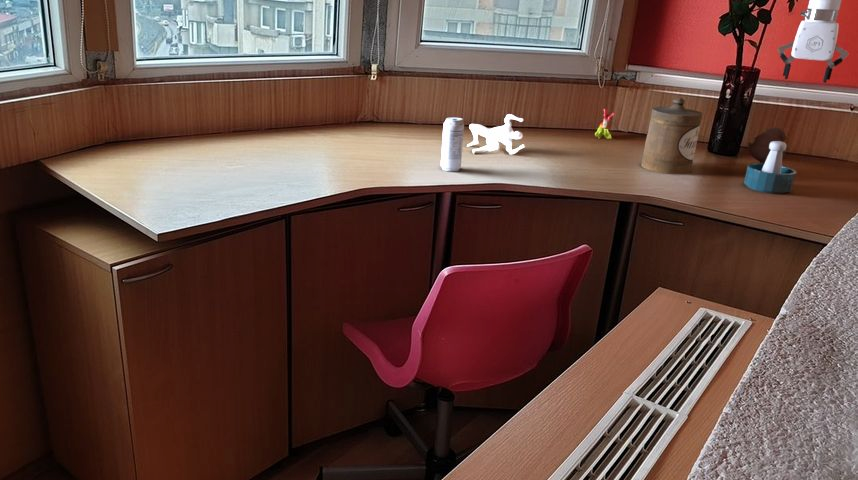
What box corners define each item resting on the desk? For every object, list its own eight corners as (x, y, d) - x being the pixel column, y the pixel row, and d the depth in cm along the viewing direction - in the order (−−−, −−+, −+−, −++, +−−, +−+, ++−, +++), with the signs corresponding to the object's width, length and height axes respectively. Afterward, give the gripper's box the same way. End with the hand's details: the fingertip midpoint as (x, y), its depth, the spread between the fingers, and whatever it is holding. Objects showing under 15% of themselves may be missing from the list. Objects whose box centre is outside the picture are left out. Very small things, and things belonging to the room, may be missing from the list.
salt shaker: (774, 190, 204) (785, 145, 199) (753, 185, 208) (764, 141, 203) (782, 186, 208) (793, 142, 203) (761, 182, 212) (772, 138, 207)
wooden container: (689, 177, 217) (704, 104, 208) (638, 170, 222) (651, 98, 214) (692, 167, 229) (706, 97, 221) (644, 160, 235) (656, 92, 227)
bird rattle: (591, 141, 269) (595, 136, 260) (595, 112, 270) (598, 106, 261) (609, 143, 268) (612, 137, 259) (612, 113, 269) (616, 107, 260)
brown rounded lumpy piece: (752, 169, 230) (763, 122, 225) (787, 177, 222) (799, 129, 216) (734, 173, 224) (745, 125, 219) (769, 181, 216) (782, 132, 210)
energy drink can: (454, 166, 217) (458, 116, 212) (464, 171, 212) (468, 120, 207) (436, 167, 215) (440, 117, 209) (446, 172, 210) (449, 121, 204)
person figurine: (467, 119, 230) (523, 112, 229) (463, 121, 243) (516, 113, 242) (471, 160, 232) (527, 152, 231) (468, 159, 245) (520, 152, 244)
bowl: (790, 187, 211) (796, 167, 209) (791, 197, 200) (797, 176, 198) (744, 180, 216) (748, 161, 214) (742, 190, 205) (747, 169, 203)
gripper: (786, 14, 196) (770, 78, 203) (859, 19, 189) (841, 85, 196) (785, 14, 202) (771, 76, 209) (856, 18, 195) (839, 82, 202)
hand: (805, 80), depth 202 cm, fingers open, 9 cm apart
